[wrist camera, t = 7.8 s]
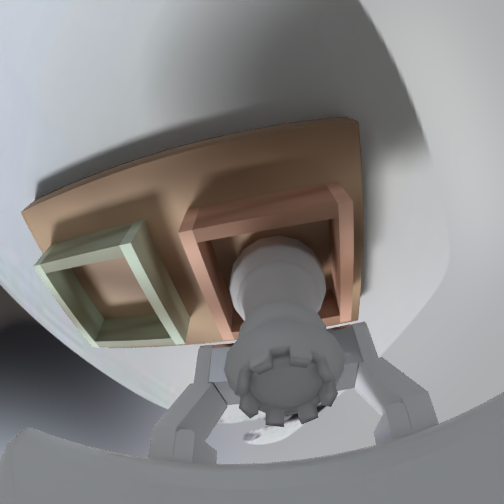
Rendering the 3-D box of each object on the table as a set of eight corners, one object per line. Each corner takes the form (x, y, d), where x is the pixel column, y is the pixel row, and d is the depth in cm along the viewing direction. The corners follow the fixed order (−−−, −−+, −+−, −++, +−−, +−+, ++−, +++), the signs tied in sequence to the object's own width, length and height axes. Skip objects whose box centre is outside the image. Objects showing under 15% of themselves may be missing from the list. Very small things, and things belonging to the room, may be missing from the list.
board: (34, 200, 13) (1, 230, 11) (347, 116, 11) (377, 132, 9) (114, 333, 20) (101, 368, 17) (352, 303, 18) (366, 344, 15)
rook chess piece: (216, 253, 14) (160, 351, 6) (304, 218, 13) (356, 285, 5) (252, 329, 15) (239, 456, 7) (333, 300, 14) (384, 416, 6)
